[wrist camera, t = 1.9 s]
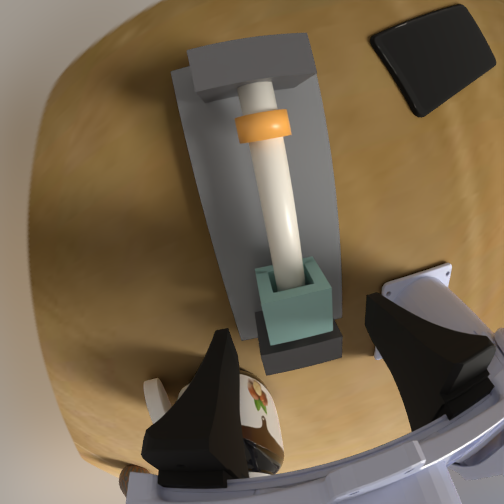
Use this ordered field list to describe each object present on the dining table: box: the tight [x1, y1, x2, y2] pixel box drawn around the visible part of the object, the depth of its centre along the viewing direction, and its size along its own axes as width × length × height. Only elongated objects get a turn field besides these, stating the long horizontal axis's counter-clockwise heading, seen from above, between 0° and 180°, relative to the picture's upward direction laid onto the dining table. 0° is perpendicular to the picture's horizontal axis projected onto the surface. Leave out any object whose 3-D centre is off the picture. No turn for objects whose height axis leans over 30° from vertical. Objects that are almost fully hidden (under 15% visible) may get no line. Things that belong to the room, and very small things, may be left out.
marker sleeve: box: [255, 256, 333, 345], centre depth 15 cm, size 3×4×4 cm
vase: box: [119, 465, 150, 498], centre depth 32 cm, size 7×7×9 cm
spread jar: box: [144, 370, 284, 478], centre depth 19 cm, size 12×11×12 cm
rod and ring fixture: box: [171, 33, 343, 376], centre depth 15 cm, size 19×8×6 cm, turn 11°
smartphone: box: [370, 4, 496, 117], centre depth 12 cm, size 7×1×15 cm
